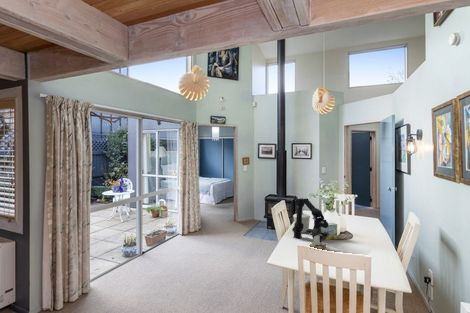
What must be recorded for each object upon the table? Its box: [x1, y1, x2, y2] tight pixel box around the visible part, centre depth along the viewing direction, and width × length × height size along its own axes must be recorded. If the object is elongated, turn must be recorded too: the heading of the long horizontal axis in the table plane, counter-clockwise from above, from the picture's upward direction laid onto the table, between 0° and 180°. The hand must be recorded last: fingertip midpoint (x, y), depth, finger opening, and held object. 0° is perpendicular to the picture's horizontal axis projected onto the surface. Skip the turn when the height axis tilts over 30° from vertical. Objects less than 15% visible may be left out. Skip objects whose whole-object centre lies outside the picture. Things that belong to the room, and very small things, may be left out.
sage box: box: [313, 235, 323, 245], centre depth 224 cm, size 5×5×7 cm
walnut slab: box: [309, 241, 327, 251], centre depth 224 cm, size 11×11×3 cm
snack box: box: [318, 222, 338, 241], centre depth 244 cm, size 21×6×15 cm, turn 101°
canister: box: [292, 211, 311, 234], centre depth 269 cm, size 18×18×21 cm
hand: (317, 242), depth 224 cm, fingers closed on sage box, 5 cm apart
